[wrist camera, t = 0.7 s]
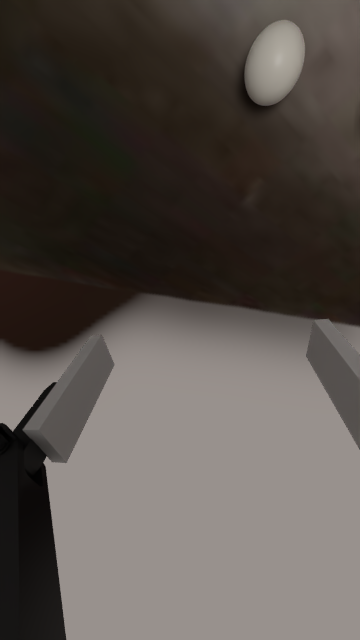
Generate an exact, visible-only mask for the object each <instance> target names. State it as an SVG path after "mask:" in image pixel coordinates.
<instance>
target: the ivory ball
mask: <svg viewBox="0 0 360 640" xmlns="http://www.w3.org/2000/svg"><path fill="white" fill-rule="evenodd" d="M304 58H305V43H304V38H303V35H302V32H301V31H300V29H299V28H298V26H297V25H296V24H295V23H293V22H291V21H288V20H280V21H276V22H274V23H272V24H270V25H269V26H267V27H266V28H265V29H264V30H263V31H262V32H261V33H260V34H259V35H258V37H257V38H256V39H255V41H254V43H253V45H252V47H251V49H250V51H249V54H248V56H247V60H246V65H245V72H244V80H245V86H246V90H247V93H248V95H249V97H250V98H251V99H252V100H253V101H254V102H255V103H256V104H258V105H261V106H269V105H273V104H276V103H278V102H279V101H281V100H282V99H283V98H284V97H286V96H287V95H288V94H289V92H290V91H291V90H292V88H293V87H294V86H295V84H296V82H297V80H298V78H299V76H300V73H301V71H302V67H303V64H304Z"/></svg>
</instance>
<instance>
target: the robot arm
mask: <svg viewBox="0 0 360 640" xmlns="http://www.w3.org/2000/svg"><path fill="white" fill-rule="evenodd" d="M306 357H307V358H308V360H309V362H310V364H311V365H312V367H313V369H314V371H315V372H316V374H317V376H318V378H319V379H320V381H321V383H322V385H323V386H324V388H325V390H326V392H327V393H328V395H329V397H330V398H331V400H332V402H333V404H334V406H335V407H336V409H337V411H338V412H339V414H340V416H341V418H342V420H343V421H344V423H345V425H346V427H347V428H348V430H349V432H350V434H351V435H352V437H353V439H354V441H355V442H356V444H357V445H358V447H359V449H360V355H359V353H358V352H357V351H356V350H355V349H354V348H353V347H352V345H351V344H350V343H349V342H348V341H347V340H346V339H345V337H344V336H343V335H342V334H341V333H340V332H339V331H338V330H337V328H336V327H335V326H334V325H333V324H332V323H331V322H330V320H329V319H322V320H314V321H313V326H312V330H311V335H310V340H309V345H308V350H307V354H306ZM113 366H114V362H113V360H112V358H111V355H110V353H109V351H108V349H107V346H106V343H105V341H104V339H103V337H102V335H91V336H90V338H89V339H88V341H87V342H86V343H85V345H84V346H83V347H82V349H81V350H80V352H79V353H78V354H77V356H76V357H75V358H74V360H73V361H72V363H71V364H70V365H69V367H68V368H67V370H66V371H65V372H64V374H63V375H62V376H61V378H60V379H59V380H58V382H54V383H52V384H51V385H50V386H49V387H47V388H46V389H45V390H44V392H43V393H42V394H41V395H40V397H39V398H38V400H37V401H36V402H35V403H34V405H33V407H31V409H30V410H29V411H28V412H27V414H26V415H25V416H24V418H23V419H22V420H21V422H20V423H19V424H18V426H17V427H16V428H15V429H14V431H13V432H12V431H11V430H10V429H9V427H8V426H7V425H5V424H3V423H0V640H66V634H65V627H64V618H63V609H62V601H61V592H60V584H59V576H58V567H57V560H56V551H55V542H54V534H53V526H52V517H51V509H50V501H49V492H48V485H47V476H46V467H45V465H44V463H43V462H44V460H45V458H46V456H47V457H48V458H49V459H50V460H51V461H52V462H62V463H66V462H67V460H68V459H69V457H70V454H71V453H72V451H73V448H74V446H75V444H76V442H77V440H78V438H79V436H80V434H81V432H82V430H83V428H84V426H85V424H86V422H87V420H88V417H89V416H90V413H91V412H92V410H93V407H94V405H95V403H96V401H97V399H98V397H99V395H100V393H101V391H102V389H103V387H104V385H105V383H106V381H107V379H108V377H109V375H110V373H111V371H112V369H113Z"/></svg>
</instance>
